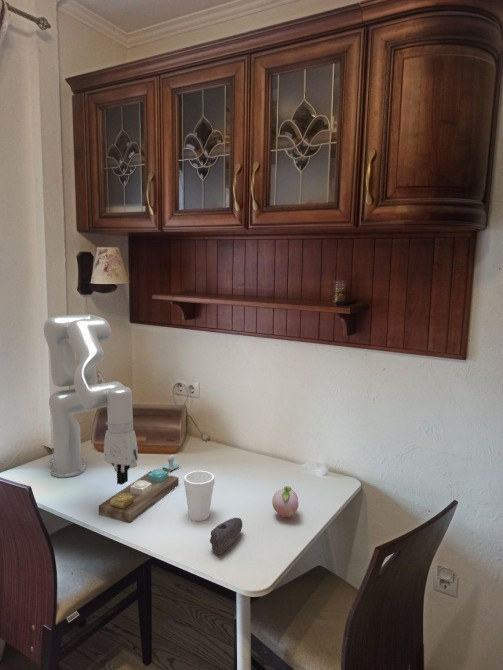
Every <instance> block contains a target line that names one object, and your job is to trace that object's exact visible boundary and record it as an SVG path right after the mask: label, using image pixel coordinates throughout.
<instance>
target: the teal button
mask: <svg viewBox="0 0 503 670" xmlns="http://www.w3.org/2000/svg"><path fill="white" fill-rule="evenodd" d="M168 475H169V471H164V470H162V469H161V468H156V469H154V470H152V472H151V473H150V474H148V481H152V482H157V483H161V482H163V481H164V480H166V479H167V478H168Z"/></svg>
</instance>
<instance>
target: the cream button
mask: <svg viewBox="0 0 503 670" xmlns="http://www.w3.org/2000/svg"><path fill="white" fill-rule="evenodd" d="M134 482H135V481H134ZM150 490H152V483H148V482H147V481H144V480H140V481H137V482H135V483H134V484H133V485H132V486H130V493H133V494H137V495H141V496H144V495H145V494H146V493H148V492H149V491H150Z"/></svg>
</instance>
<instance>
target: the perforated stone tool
mask: <svg viewBox="0 0 503 670" xmlns="http://www.w3.org/2000/svg"><path fill="white" fill-rule="evenodd" d="M242 520H243V519H241V518H240V517H233V518H229V519H228V520H225V521H223V522H222V523H219V524H218V525H217V526H215V528H213V529H212V530H211V531H210V538H209V543H210V545H211V550H212V551H214V553H216V554H217V555H221V554H223V553H224V552H225V551H227V550H228V549H229V548H230V547H231V546H232V545H233V544H234V543H235V542H236V540H237V539H238V538H239V536H240V534H241V532H242V529H243V521H242Z"/></svg>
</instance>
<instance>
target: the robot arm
mask: <svg viewBox="0 0 503 670" xmlns="http://www.w3.org/2000/svg"><path fill="white" fill-rule="evenodd" d="M43 336H44V338H45V342H46V343H47V346H48V349H49V358H50V359H49V360H50V374H51V380H52V383H53V385H54V386H55V387H59V388H61V387H62V388H63V387H71V386H74V387H73V388H68V389H63V390H58V391H55V392H53V393H52V394H51V395H50V397H49V398H48V405H49V409H50V415H51V419H52V421H51V422H52V434H53V454H54V455H51V457H50V459H48V461H47V462H48V463H49V464H52V466H51V468H50V475H51V476H53V477H56V478H70V477H71V478H72V477H77V476H79V475H81V474H83V473H84V472H85V471H86V469H87V466H86V463H84V462H82V445H81V444H82V442H81V424H80V422H79V421H78V420H77V419H76V418H75V417H74V415H76V414H79V413H80V414H81V413H84V412H85V413H86V412H89V411H93V410H96V409H102V408H106V409H107V410H106V411H107V420H106V421H105V425H106V426H107V430H105V435H104V441H103V442H104V443H103V459H104V461H105V462H107V464H110V465H112V467H113V468H114V469H113V470H114V471H115V472H116V484H117V485H121V486H122V485H124V484H126V483H128V481H129V477H128V474H129V473H128V471H129V470H130V469H135V468H136V467H137V466H138V463H137V461H138V458H139V455H138V454H139V452H138V451H139V449H138V448H139V447H138V442H137V436H136V432H135V430H134V418H133V417H134V416H133V415H134V414H133V412H134V411H133V391H132V389H131V388H130V387H128V386H124V384H122V383H121V382H120V381H110V382H103V383H98V375H97V373H98V372H97V367H98V365H99V366H100V364H101V363H102V362H103V361H104V360H105V355H106V354H105V351H104V350H103V347H102V345H101V343H103V342H107V341H108V340H110V338H111V336H112V329H111V325H110V323H109V322H108V321H107V320H106V319H105V318H103V317H101V316H97V315H94V314H88V313H87V314H85V313H84V314H67V315H57V316H52V317H48V318H47V319H46V320H45V322H44V324H43Z"/></svg>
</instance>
